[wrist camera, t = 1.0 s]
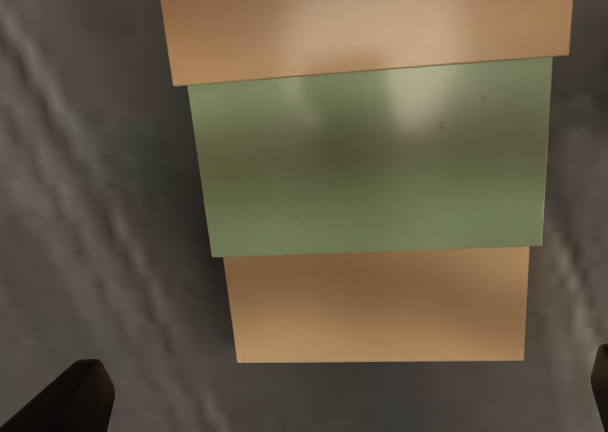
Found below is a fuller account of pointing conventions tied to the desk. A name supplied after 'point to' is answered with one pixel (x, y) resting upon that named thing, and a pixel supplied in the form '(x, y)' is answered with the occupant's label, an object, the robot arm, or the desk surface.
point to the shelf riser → (371, 169)
